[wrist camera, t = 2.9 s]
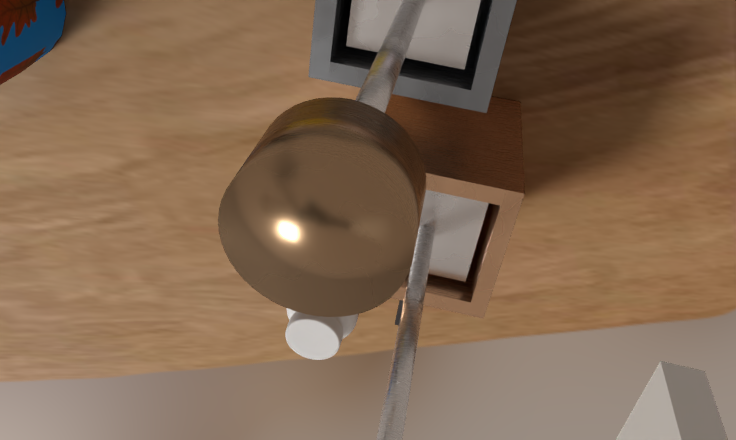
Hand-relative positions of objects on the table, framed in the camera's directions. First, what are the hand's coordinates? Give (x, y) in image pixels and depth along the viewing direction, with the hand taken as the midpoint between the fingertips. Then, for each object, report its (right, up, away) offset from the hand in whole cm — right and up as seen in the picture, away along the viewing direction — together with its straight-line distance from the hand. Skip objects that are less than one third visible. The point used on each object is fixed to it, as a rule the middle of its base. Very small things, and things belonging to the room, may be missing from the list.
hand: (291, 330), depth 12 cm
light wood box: (+7, +6, +35) cm, 36 cm away
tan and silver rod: (+4, +13, +19) cm, 23 cm away
